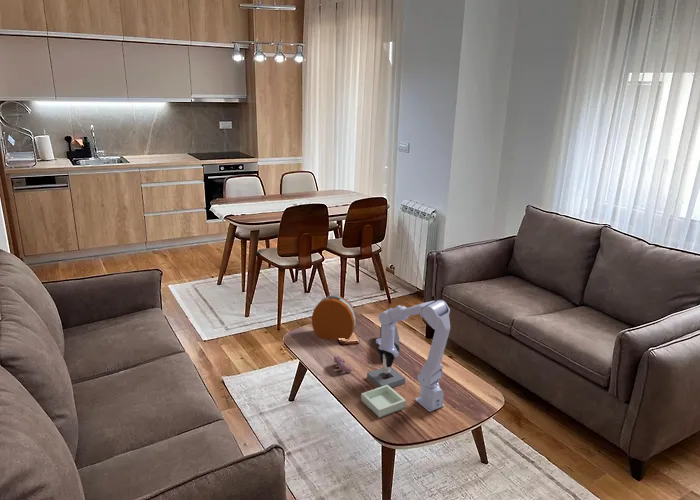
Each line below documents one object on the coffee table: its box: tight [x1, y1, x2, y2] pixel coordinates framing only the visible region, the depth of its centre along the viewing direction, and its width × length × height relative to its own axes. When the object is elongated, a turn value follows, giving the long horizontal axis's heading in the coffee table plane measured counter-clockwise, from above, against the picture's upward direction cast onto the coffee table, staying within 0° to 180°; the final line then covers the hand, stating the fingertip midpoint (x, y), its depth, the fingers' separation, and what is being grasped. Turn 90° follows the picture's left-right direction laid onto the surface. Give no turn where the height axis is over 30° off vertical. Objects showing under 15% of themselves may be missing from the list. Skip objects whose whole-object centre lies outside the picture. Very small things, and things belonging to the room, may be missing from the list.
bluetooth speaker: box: [379, 324, 401, 353], centre depth 246 cm, size 23×9×10 cm, turn 179°
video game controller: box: [333, 355, 352, 374], centre depth 228 cm, size 10×5×7 cm, turn 21°
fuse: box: [381, 354, 390, 374], centre depth 218 cm, size 4×4×8 cm
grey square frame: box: [366, 366, 406, 389], centre depth 220 cm, size 12×12×2 cm
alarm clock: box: [311, 294, 358, 341], centre depth 257 cm, size 22×10×23 cm, turn 74°
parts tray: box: [360, 385, 407, 419], centre depth 203 cm, size 13×13×4 cm
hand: (386, 364), depth 218 cm, fingers closed on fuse, 3 cm apart
